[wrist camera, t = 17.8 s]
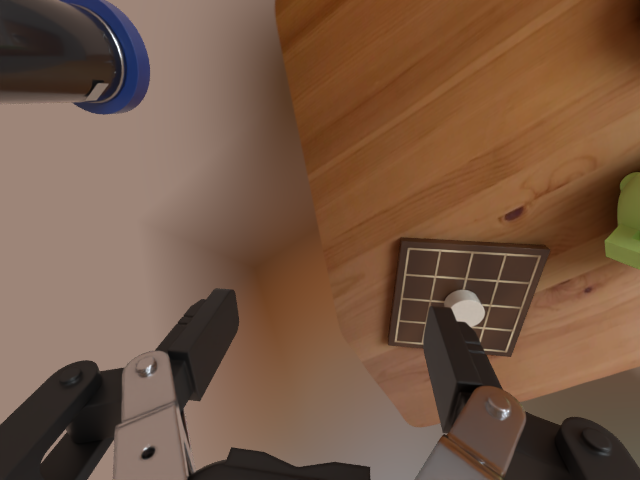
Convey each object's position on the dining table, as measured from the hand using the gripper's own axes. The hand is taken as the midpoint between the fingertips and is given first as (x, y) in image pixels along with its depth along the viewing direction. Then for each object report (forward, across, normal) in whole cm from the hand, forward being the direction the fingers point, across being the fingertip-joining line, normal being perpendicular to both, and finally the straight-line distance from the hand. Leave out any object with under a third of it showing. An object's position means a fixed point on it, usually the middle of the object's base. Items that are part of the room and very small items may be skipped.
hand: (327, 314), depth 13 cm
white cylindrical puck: (+27, -16, +18) cm, 36 cm away
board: (+28, -16, +18) cm, 37 cm away
